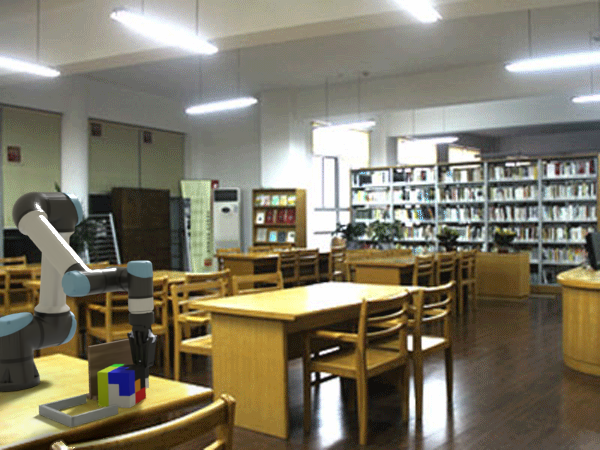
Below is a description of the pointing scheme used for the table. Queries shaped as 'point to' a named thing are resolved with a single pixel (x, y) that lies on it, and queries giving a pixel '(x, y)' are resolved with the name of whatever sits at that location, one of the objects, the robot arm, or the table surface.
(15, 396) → the table surface
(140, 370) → the puzzle toy
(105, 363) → the screen
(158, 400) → the table surface
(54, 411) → the corral
